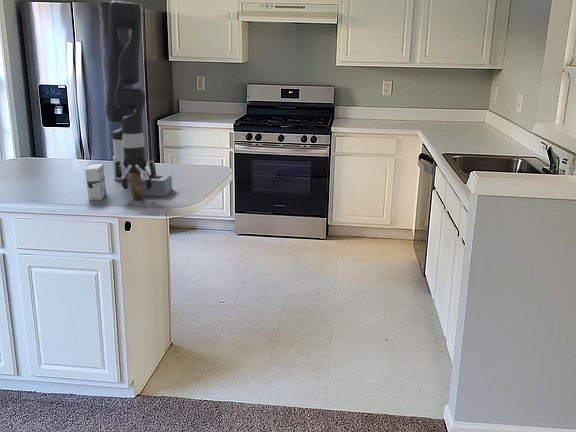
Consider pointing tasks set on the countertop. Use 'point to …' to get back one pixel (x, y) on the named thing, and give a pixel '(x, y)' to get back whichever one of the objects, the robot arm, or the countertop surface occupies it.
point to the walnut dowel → (136, 186)
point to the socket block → (157, 185)
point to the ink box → (95, 182)
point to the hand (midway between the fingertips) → (137, 189)
